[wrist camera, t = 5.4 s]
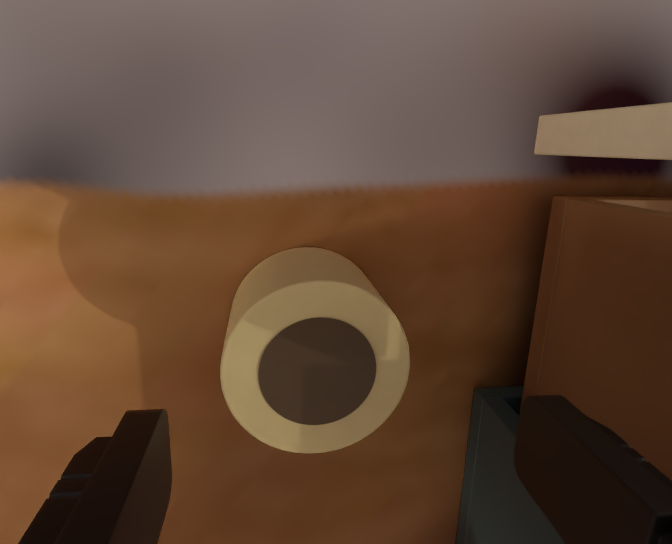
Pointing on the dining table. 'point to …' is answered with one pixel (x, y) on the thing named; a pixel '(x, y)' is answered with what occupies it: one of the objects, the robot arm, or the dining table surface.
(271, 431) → the tape
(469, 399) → the dining table surface
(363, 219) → the dining table surface
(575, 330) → the drawer
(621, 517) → the robot arm
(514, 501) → the cabinet
